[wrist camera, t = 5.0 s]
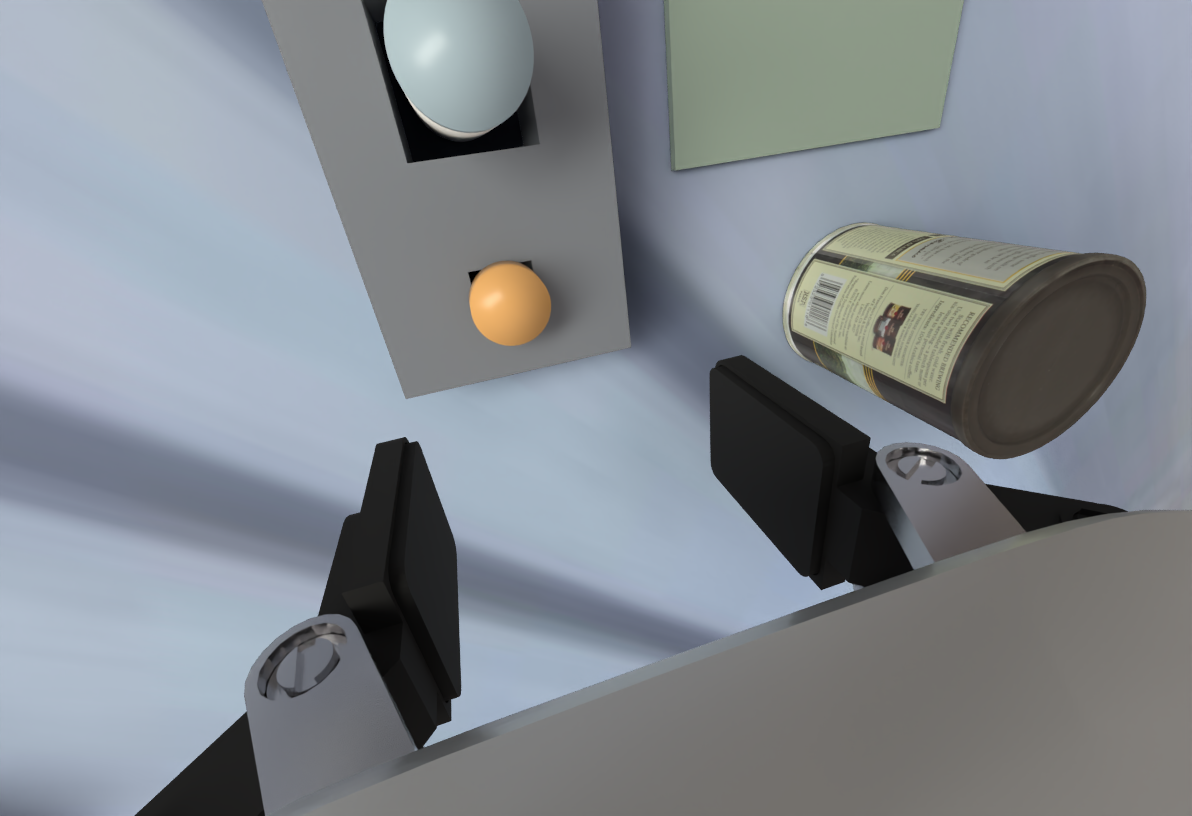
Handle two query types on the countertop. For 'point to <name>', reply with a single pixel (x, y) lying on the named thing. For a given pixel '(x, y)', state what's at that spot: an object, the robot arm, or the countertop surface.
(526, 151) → the block
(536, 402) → the countertop surface
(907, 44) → the mat
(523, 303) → the orange egg
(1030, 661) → the robot arm
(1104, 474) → the countertop surface
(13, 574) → the countertop surface
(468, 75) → the cartridge
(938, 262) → the coffee can
